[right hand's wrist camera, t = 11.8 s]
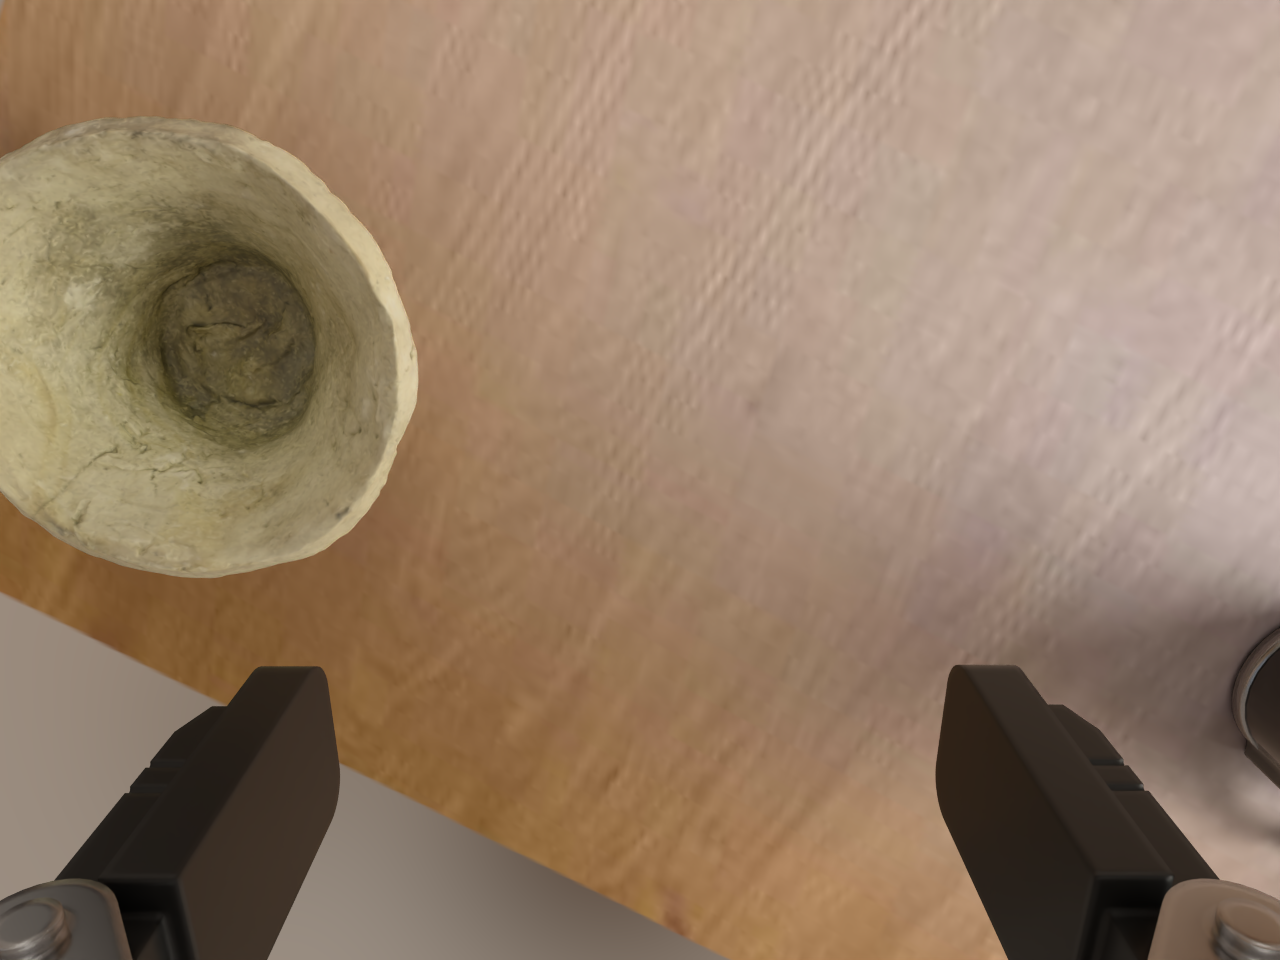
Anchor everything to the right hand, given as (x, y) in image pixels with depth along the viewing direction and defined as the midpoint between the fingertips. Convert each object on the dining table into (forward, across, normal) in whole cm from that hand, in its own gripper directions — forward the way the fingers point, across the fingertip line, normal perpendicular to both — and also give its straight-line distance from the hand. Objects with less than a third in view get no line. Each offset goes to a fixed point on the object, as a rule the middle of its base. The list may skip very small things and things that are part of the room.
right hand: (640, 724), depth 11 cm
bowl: (+31, -18, 0) cm, 36 cm away
